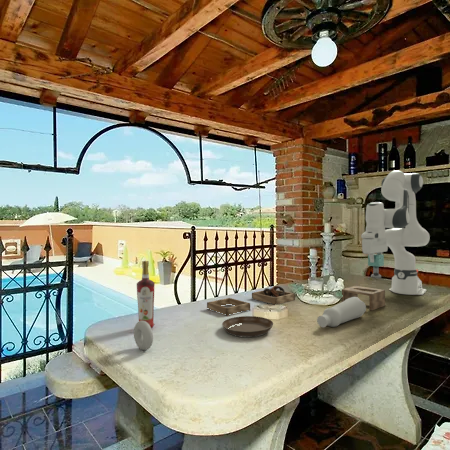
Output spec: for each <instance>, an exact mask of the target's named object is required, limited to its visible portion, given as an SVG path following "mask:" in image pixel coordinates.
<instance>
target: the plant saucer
mask: <svg viewBox="0 0 450 450" xmlns="http://www.w3.org/2000/svg"><path fill="white" fill-rule="evenodd" d="M239 323H242V325H240V326H237V325H235V324H239ZM221 325H222V327H223V329H224V330H225V331H226V332H227V333H228V334H230V335H232V336H235V335H236V337H239V336H242V337H241V338H256V337H260V336H264V335H266V334H267V333H268V332H270V330H271V329H272V327H273V326H274V322H273V321H272V319H269V318H266V317H261V316H254V315H252V316H251V315H250V316H249V315H245V316H244V315H243V316H234V317H230V318H227V319H225V320H223V322H222V324H221ZM232 325H235V326H234V327H231V328H229V327H230V326H232ZM228 328H229V329H228Z"/></svg>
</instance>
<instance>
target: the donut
mask: <svg viewBox="0 0 450 450" xmlns="http://www.w3.org/2000/svg"><path fill="white" fill-rule="evenodd" d="M133 328H134V329H133V338H134V341H135V344H136V347H138V348H139V350H141V349H142V351H147V350H149V349H150V348H151V347H152V345H153V342H154V332H153V330H152V328H151V327H150V325H149V324H148V323H147V322H146V321H139V320H138V321H137V322H136V323H135V326H134V327H133Z"/></svg>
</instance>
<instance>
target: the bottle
mask: <svg viewBox="0 0 450 450" xmlns="http://www.w3.org/2000/svg"><path fill="white" fill-rule="evenodd" d="M366 311H367V306H366V303H365V302H364V301H363V300H361V299H360V298H359V296H358V297H351V298H348V299H346V300H345V301H343V302H342V301H341V302H339V303H337V304H335V305H333V306H332V307H326V308H325V309H324V310H323V312H322V315H319V316H317V319H316V323H317V324H318V326H319V327H321V328H326V327H327V326H328V327H332V328H337V327H338V326H339V325H340V324H344V323H347V322H349V321H352V320H355V319H358V318H360V317H362V316H363V315H364V313H365V312H366Z"/></svg>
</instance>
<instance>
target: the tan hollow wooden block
mask: <svg viewBox="0 0 450 450" xmlns="http://www.w3.org/2000/svg"><path fill="white" fill-rule="evenodd" d="M342 295H343V297H342ZM358 295H363V296H368V297H369V300H368V302H369V304H368V305H369V311H374V310H377V309H380V308H382V307H385V306H386V290H385V289H379V288H373V287H366V286H360V285H353V286H348V287H345V288H341V302H343V301H345V300H346V299H348V298H351V297H358V298H359V296H358Z"/></svg>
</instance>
